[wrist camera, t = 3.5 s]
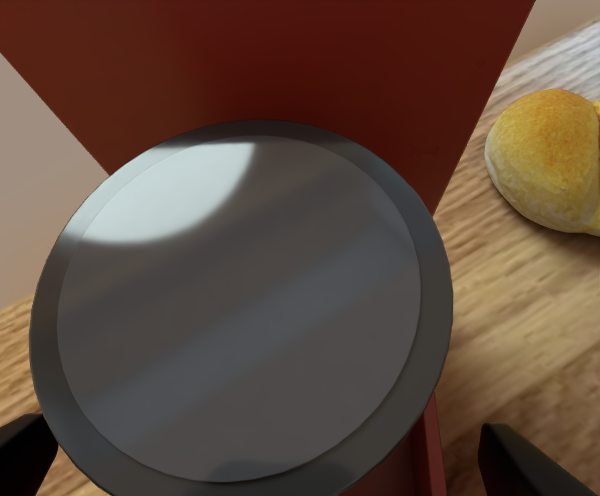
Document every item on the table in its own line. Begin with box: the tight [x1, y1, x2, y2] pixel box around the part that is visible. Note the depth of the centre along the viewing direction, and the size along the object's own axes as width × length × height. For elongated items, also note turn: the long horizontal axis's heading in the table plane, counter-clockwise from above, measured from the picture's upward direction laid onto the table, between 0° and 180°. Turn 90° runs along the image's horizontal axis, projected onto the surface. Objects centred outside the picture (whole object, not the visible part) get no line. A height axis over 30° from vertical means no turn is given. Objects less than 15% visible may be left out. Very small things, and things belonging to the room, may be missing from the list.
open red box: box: [339, 391, 447, 496], centre depth 16 cm, size 10×10×4 cm
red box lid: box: [0, 0, 536, 217], centre depth 11 cm, size 11×10×1 cm
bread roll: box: [484, 89, 600, 237], centre depth 19 cm, size 8×9×4 cm
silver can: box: [29, 119, 453, 496], centre depth 12 cm, size 7×7×12 cm
